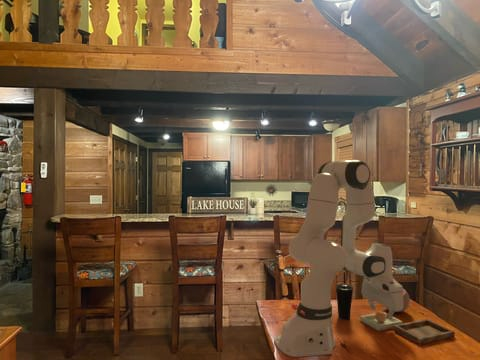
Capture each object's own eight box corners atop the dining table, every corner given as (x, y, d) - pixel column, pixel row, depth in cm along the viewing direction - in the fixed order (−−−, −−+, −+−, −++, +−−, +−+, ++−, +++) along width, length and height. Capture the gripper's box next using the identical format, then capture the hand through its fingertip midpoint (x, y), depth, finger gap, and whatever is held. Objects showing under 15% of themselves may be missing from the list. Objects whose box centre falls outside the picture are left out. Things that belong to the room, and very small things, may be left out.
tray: (377, 331, 128) (377, 326, 128) (360, 320, 137) (360, 316, 137) (402, 326, 132) (402, 321, 132) (383, 316, 142) (383, 312, 142)
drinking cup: (354, 322, 136) (354, 275, 136) (336, 320, 138) (336, 274, 138) (352, 314, 143) (352, 270, 144) (334, 313, 145) (334, 269, 145)
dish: (419, 345, 117) (419, 339, 117) (394, 330, 128) (394, 325, 128) (454, 337, 123) (454, 331, 123) (426, 324, 134) (427, 319, 134)
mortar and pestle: (377, 305, 154) (377, 282, 154) (402, 306, 153) (402, 282, 154) (387, 316, 142) (387, 290, 142) (414, 316, 141) (414, 291, 142)
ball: (388, 323, 133) (388, 312, 134) (380, 324, 132) (380, 313, 132) (381, 319, 138) (380, 309, 138) (373, 320, 136) (372, 310, 136)
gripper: (358, 275, 144) (358, 305, 144) (394, 289, 124) (393, 325, 124) (369, 273, 146) (369, 303, 146) (406, 287, 126) (406, 322, 126)
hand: (380, 313), depth 135 cm, fingers open, 8 cm apart
